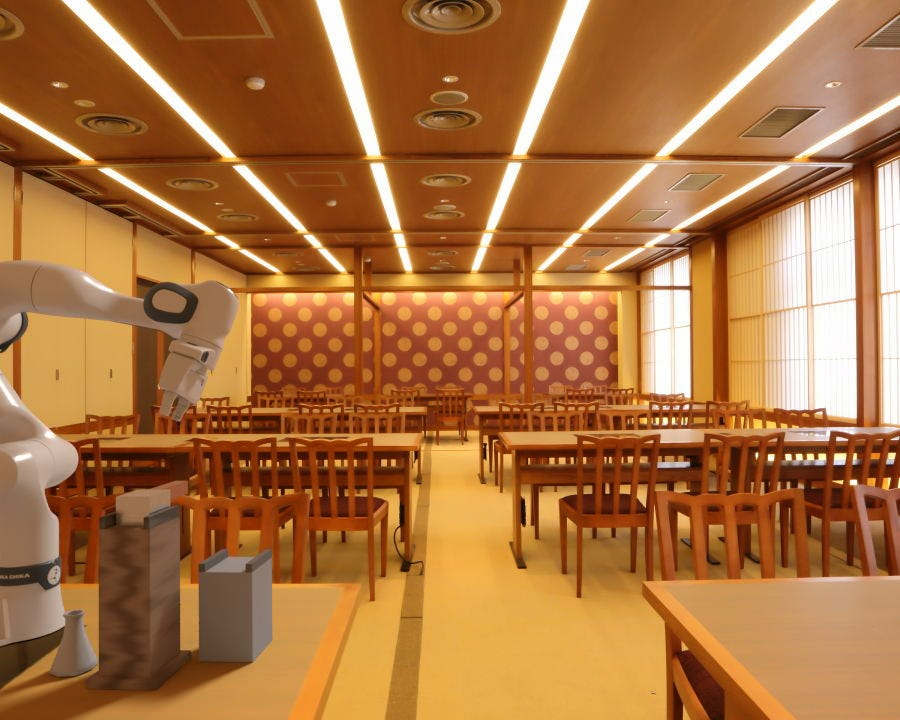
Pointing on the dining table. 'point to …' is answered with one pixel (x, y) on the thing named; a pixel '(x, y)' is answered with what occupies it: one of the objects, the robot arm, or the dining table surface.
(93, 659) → the flask
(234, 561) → the grey post
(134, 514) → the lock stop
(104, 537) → the tall post
